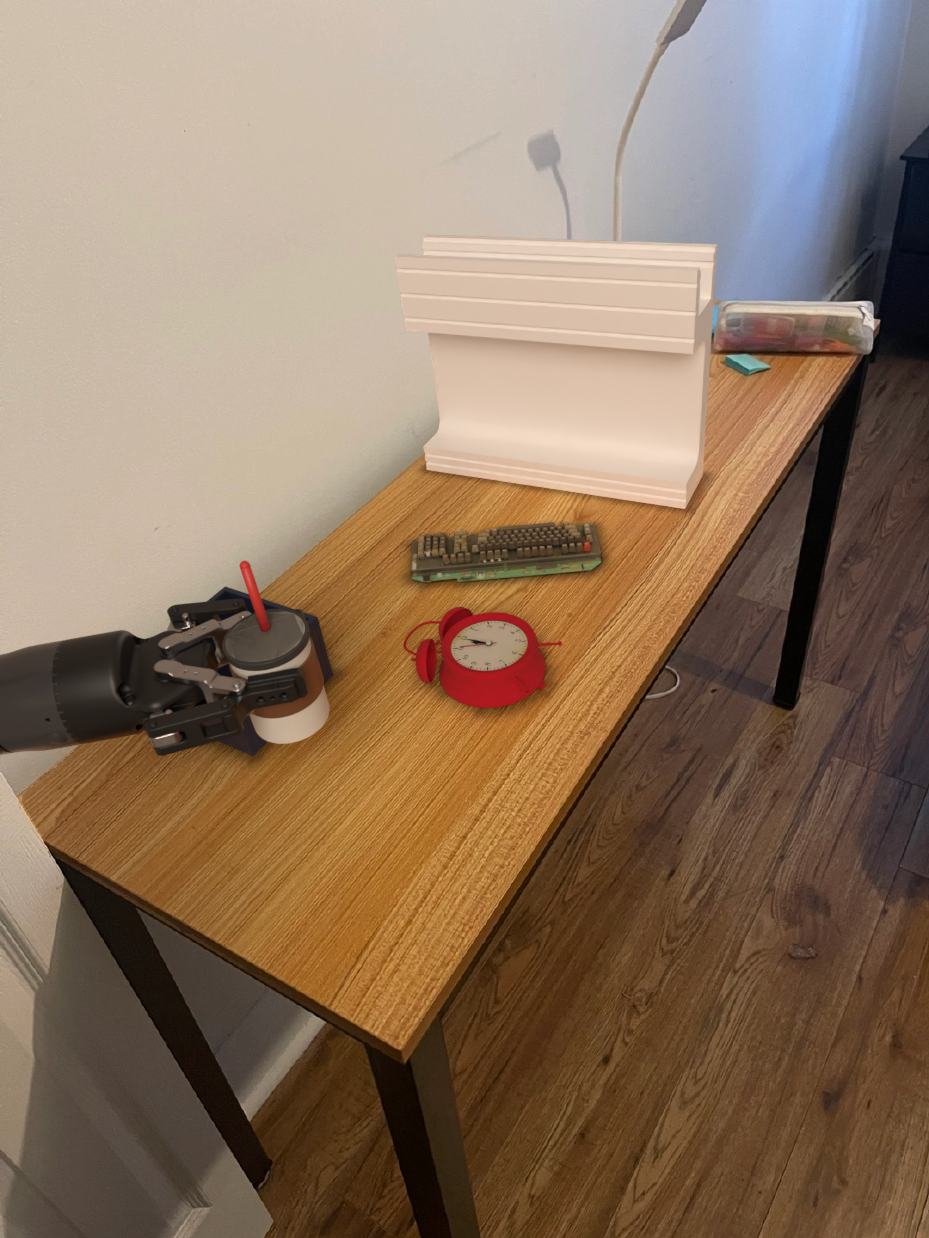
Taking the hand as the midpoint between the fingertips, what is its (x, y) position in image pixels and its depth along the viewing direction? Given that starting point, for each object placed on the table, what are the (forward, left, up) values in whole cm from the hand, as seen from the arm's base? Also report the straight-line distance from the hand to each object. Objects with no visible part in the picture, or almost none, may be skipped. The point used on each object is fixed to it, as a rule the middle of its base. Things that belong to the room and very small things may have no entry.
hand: (304, 650), depth 65 cm
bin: (+8, +19, -19) cm, 28 cm away
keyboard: (+39, +7, -19) cm, 44 cm away
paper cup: (-1, +2, -6) cm, 6 cm away
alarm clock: (+21, 0, -19) cm, 28 cm away
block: (+58, +10, -19) cm, 62 cm away
